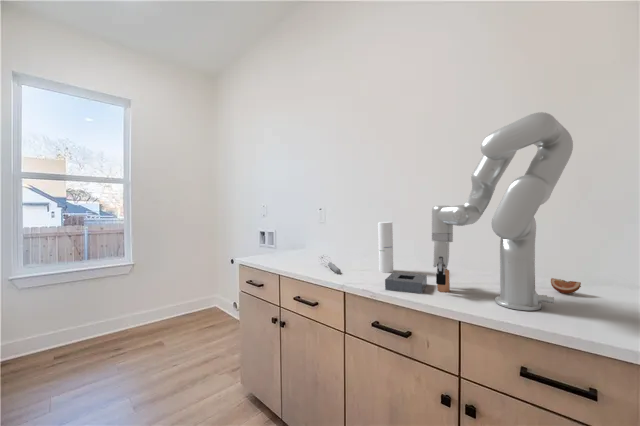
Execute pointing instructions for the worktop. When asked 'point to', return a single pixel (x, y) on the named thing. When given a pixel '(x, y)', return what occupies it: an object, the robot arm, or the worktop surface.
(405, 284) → the socket block
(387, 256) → the cylindrical container
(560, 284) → the fruit slice
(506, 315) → the worktop surface
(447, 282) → the plug
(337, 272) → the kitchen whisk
